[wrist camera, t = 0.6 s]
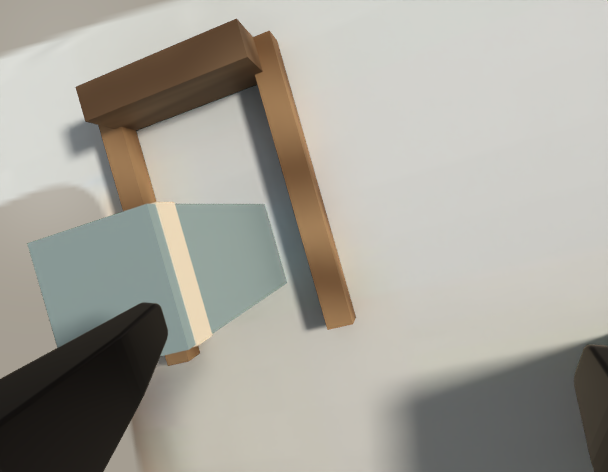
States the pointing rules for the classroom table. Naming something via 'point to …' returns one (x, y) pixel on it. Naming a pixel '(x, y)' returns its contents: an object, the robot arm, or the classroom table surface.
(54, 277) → the block
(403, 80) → the classroom table surface
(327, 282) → the wooden beam frame
